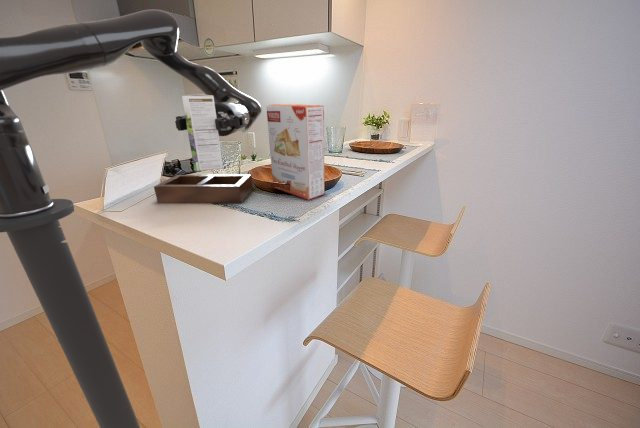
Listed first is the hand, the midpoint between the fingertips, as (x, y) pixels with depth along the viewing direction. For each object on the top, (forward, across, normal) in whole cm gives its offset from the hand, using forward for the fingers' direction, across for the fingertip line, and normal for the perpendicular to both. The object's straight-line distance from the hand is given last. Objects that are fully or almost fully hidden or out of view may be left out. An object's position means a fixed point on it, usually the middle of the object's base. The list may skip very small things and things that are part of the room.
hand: (198, 124), depth 56 cm
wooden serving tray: (-9, -4, +18) cm, 20 cm away
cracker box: (-12, +18, +18) cm, 28 cm away
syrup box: (-2, 0, +9) cm, 9 cm away
